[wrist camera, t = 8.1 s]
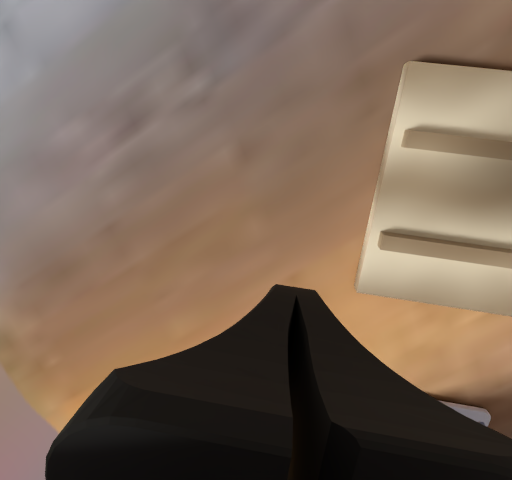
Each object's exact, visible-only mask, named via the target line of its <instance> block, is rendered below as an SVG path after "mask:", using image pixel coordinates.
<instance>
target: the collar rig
mask: <svg viewBox="0 0 512 480" xmlns="http://www.w3.org/2000/svg"><path fill="white" fill-rule="evenodd" d="M354 286H355V289H356V292H357V293H363V294H369V295H376V296H382V297H389V298H395V299H402V300H408V301H415V302H421V303H427V304H434V305H440V306H447V307H453V308H460V309H466V310H473V311H479V312H485V313H492V314H498V315H505V316H511V317H512V71H507V70H497V69H486V68H476V67H466V66H456V65H446V64H436V63H426V62H416V61H409V62H407V63H406V64H404V66H403V70H402V75H401V79H400V84H399V88H398V93H397V97H396V101H395V106H394V110H393V115H392V119H391V124H390V128H389V132H388V137H387V141H386V146H385V150H384V155H383V159H382V163H381V168H380V172H379V177H378V181H377V185H376V190H375V194H374V199H373V203H372V208H371V212H370V216H369V221H368V225H367V230H366V234H365V239H364V243H363V247H362V252H361V256H360V261H359V265H358V270H357V274H356V278H355V283H354Z"/></svg>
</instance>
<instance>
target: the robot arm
mask: <svg viewBox="0 0 512 480" xmlns="http://www.w3.org/2000/svg"><path fill="white" fill-rule="evenodd" d="M490 420H491V416H490V414H489V412H488V411H487V410H486V409H483V408H478V407H473V406H467V405H461V404H456V403H450V402H444V401H439V400H436V399H435V398H433V397H431V396H430V395H428V394H426V393H425V392H423V391H422V390H420V389H419V388H417V387H415V386H414V385H412V384H411V383H410V382H408V381H407V380H405V379H404V378H402V377H401V376H400V375H398V374H397V373H395V372H394V371H393V370H391V369H390V368H389V367H387V366H386V365H385V364H383V363H382V362H381V361H380V360H379V359H377V358H376V357H375V356H374V355H373V354H372V353H370V352H369V351H368V350H367V349H366V348H365V347H364V346H362V345H361V344H360V343H359V342H358V341H357V340H356V339H355V338H354V337H353V336H352V335H351V334H350V333H349V331H348V330H347V329H346V328H345V327H344V326H343V325H342V324H341V323H340V322H339V320H338V319H337V318H336V317H335V316H334V314H333V313H332V312H331V311H330V309H329V308H328V307H327V305H326V304H325V303H324V301H323V300H322V299H321V297H320V296H319V295H318V293H317V292H316V291H315V290H310V289H303V288H297V287H290V286H284V285H278V284H276V285H274V286H273V287H272V288H271V290H270V291H269V292H268V294H267V295H266V296H265V297H264V298H263V299H262V301H261V302H260V303H259V304H258V305H257V306H256V307H255V308H254V309H253V310H251V311H250V312H249V313H248V314H247V315H246V316H244V317H243V318H242V319H241V320H240V321H238V322H237V323H236V324H234V325H233V326H232V327H230V328H229V329H227V330H226V331H224V332H223V333H221V334H219V335H218V336H215V337H213V338H211V339H209V340H207V341H205V342H203V343H201V344H199V345H197V346H195V347H192V348H190V349H187V350H184V351H182V352H179V353H176V354H173V355H170V356H167V357H164V358H160V359H157V360H153V361H149V362H145V363H140V364H136V365H132V366H128V367H123V368H118V369H114V370H113V371H112V372H111V373H110V375H109V376H108V377H107V378H106V379H105V380H104V381H103V382H102V383H101V384H100V385H99V386H98V387H97V388H96V389H95V390H94V391H93V392H92V394H91V395H90V396H89V397H88V398H87V399H86V401H85V402H84V403H83V404H82V406H81V407H80V408H79V409H78V411H77V412H76V413H75V414H74V416H73V417H72V418H71V419H70V421H69V422H68V423H67V425H66V426H65V427H64V428H63V430H62V431H61V432H60V433H59V435H58V436H57V437H56V439H55V440H54V441H53V443H52V445H51V447H50V450H49V452H48V454H47V456H46V471H45V477H46V480H512V439H511V438H509V437H507V436H505V435H503V434H501V433H499V432H497V431H495V430H493V429H490V428H488V425H489V422H490ZM478 422H479V423H478Z"/></svg>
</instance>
